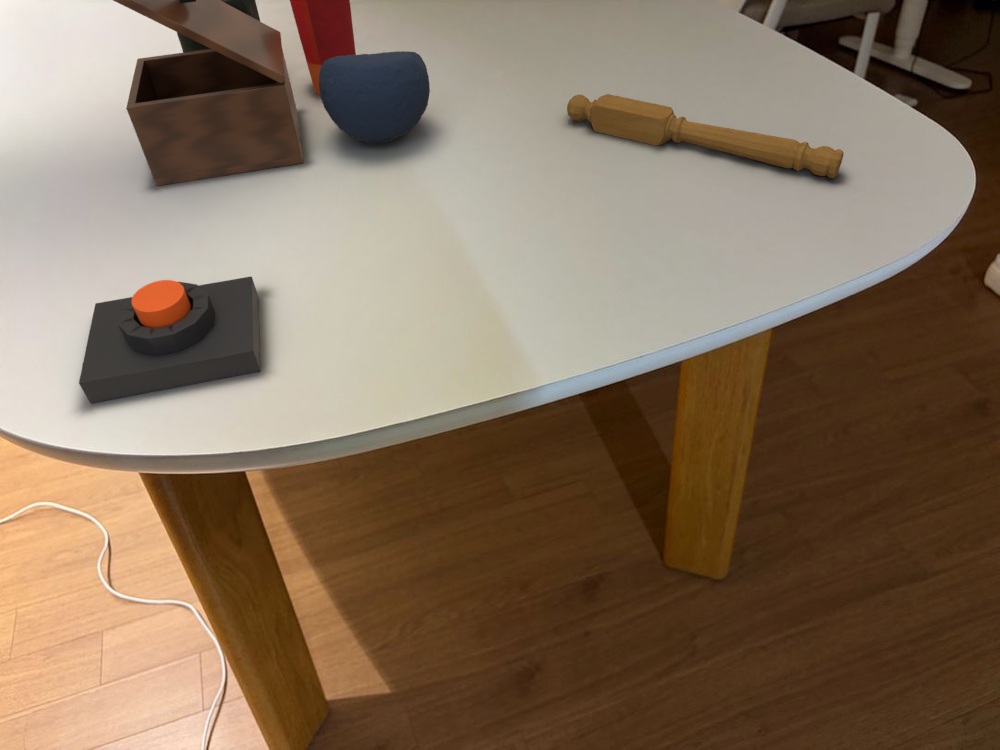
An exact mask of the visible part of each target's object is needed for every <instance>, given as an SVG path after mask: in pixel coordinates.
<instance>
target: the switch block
mask: <svg viewBox="0 0 1000 750" xmlns="http://www.w3.org/2000/svg"><path fill="white" fill-rule="evenodd" d="M178 282H179V283H180V284H181V285H182V286H183V287H184V290H185V292H186V295H187V297H188V300H189V302H190V305H191V309H190V312H189V313H188V314H187V316H186V317H185V318H183V319H181V320H179V321H177V322H176V323H174V324H172V325H170V326H164V327H159V328H149V327H145V326H144V325H142V324H141V323H140V321H139V319H138V316H137V314H136V312H135V310H134V308H133V306H132V297H133V296H129V297H124V298H118V299H113V300H108V301H101V302H96V303H95V304H94V309H93V313H92V318H91V323H90V326H89V327H90V328H89V333H88V337H87V343H86V347H85V352H84V355H83V356H84V357H83V362H82V366H81V370H80V376H79V380H78V384H79V386H80V388H81V389H82V391H83V393H84V395H85V397H86V398H87V400H88V402H89V403H90V404H94V403H99V402H105V401H110V400H115V399H120V398H125V397H130V396H135V395H136V396H137V395H141V394H146V393H147V394H148V393H151V392H157V391H162V390H167V389H173V388H177V387H178V388H179V387H184V386H188V385H195V384H199V383H204V382H210V381H215V380H220V379H225V378H231V377H236V376H241V375H247V374H251V373H257V372H261V348H260V347H261V345H260V314H259V313H260V311H259V294H258V291H257V287H256V285H255V282H254V279H253V276H245V277H240V278H235V279H229V280H222V281H217V282H211V283H205V284H200V285H199V284H196V283H189V282H183V281H178Z"/></svg>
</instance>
